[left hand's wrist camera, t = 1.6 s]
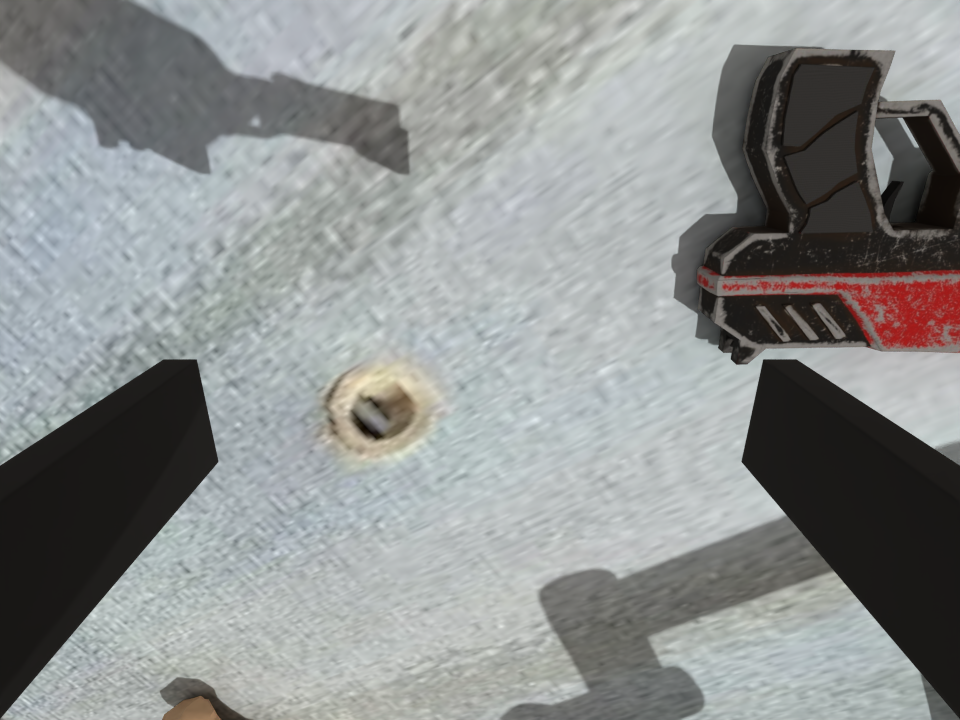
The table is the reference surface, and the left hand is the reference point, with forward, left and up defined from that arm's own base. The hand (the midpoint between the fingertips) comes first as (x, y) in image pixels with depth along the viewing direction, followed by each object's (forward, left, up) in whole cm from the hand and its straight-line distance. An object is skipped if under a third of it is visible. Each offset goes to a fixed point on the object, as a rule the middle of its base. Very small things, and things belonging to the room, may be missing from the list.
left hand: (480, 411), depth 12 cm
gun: (-9, +30, -27) cm, 41 cm away
